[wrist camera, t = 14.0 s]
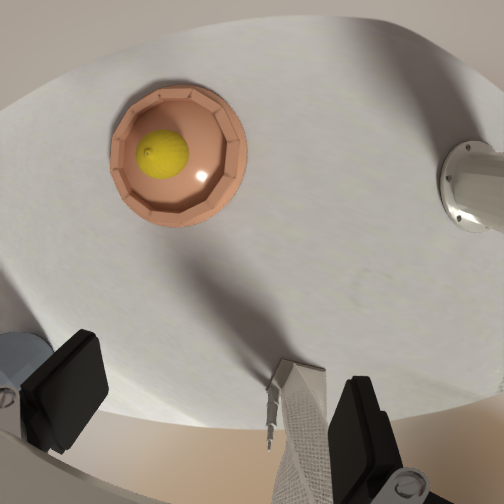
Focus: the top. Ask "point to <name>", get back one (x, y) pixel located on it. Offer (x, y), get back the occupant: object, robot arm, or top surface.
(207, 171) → the dish
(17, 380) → the vase
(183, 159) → the lemon
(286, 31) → the top surface
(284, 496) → the skyscraper
